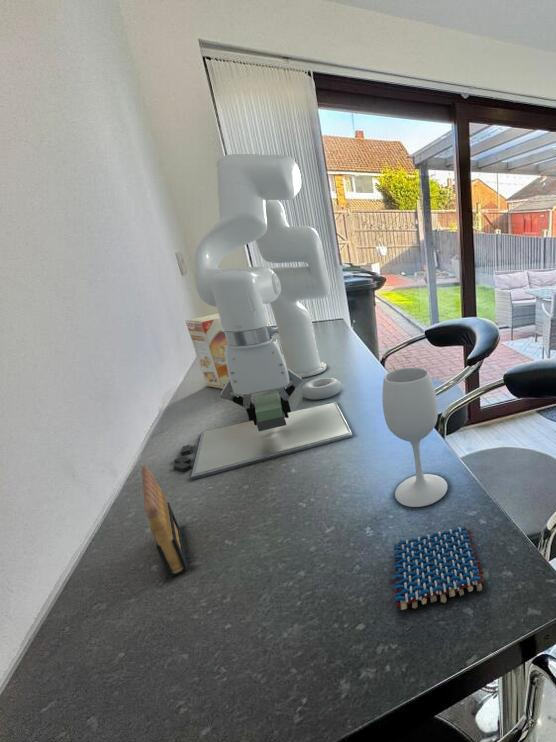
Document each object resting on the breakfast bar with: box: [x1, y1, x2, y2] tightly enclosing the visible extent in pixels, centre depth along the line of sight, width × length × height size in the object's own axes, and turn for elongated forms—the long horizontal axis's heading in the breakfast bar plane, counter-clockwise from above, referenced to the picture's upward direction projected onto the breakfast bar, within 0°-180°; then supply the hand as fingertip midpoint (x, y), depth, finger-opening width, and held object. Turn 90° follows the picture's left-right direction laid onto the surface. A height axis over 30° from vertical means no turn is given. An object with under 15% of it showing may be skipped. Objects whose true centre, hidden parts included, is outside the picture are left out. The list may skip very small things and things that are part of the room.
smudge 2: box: [173, 455, 192, 464], centre depth 77 cm, size 3×1×1 cm, turn 66°
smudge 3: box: [173, 462, 193, 473], centre depth 75 cm, size 3×1×1 cm, turn 70°
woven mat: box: [393, 526, 485, 611], centre depth 51 cm, size 10×11×2 cm
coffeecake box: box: [185, 313, 230, 390], centre depth 117 cm, size 15×7×20 cm, turn 160°
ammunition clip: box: [141, 465, 189, 578], centre depth 53 cm, size 11×2×12 cm, turn 42°
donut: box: [300, 377, 342, 401], centre depth 107 cm, size 10×3×10 cm
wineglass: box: [381, 366, 448, 508], centre depth 63 cm, size 9×9×21 cm
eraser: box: [254, 392, 287, 431], centre depth 84 cm, size 10×5×4 cm, turn 31°
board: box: [190, 401, 354, 481], centre depth 86 cm, size 20×28×1 cm
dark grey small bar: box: [180, 444, 193, 457], centre depth 81 cm, size 3×1×1 cm, turn 31°
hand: (271, 418), depth 85 cm, fingers closed on eraser, 5 cm apart
